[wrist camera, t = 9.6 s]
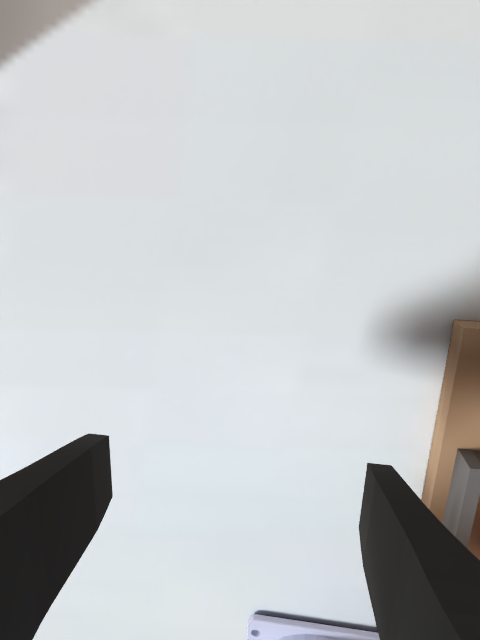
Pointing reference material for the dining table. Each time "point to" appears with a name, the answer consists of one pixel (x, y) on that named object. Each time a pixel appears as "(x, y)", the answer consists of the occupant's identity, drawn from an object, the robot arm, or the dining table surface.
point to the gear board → (458, 441)
